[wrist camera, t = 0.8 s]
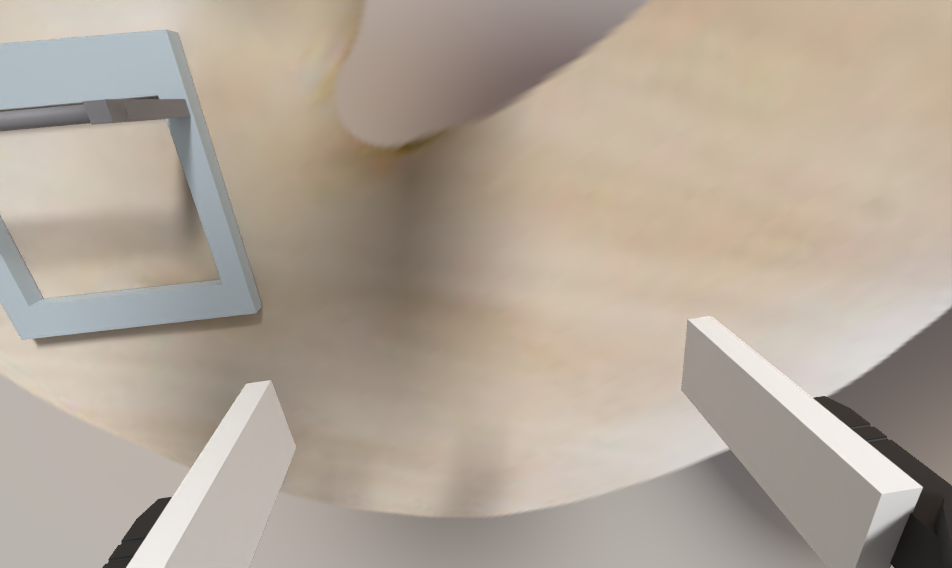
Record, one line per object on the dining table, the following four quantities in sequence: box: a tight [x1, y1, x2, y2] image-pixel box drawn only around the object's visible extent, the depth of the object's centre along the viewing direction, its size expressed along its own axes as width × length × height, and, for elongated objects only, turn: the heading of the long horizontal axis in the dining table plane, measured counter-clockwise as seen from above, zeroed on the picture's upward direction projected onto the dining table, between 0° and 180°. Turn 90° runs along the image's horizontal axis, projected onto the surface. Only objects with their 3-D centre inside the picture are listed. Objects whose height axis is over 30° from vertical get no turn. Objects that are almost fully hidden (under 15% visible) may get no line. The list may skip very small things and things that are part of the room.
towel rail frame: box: [0, 30, 262, 340], centre depth 31 cm, size 22×20×10 cm
